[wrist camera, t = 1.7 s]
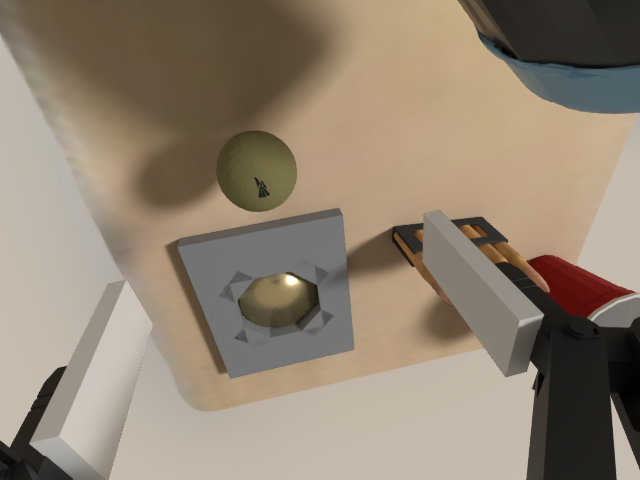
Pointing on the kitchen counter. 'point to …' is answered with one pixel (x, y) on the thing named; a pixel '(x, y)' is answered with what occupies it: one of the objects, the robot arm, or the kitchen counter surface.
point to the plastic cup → (587, 293)
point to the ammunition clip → (478, 234)
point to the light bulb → (256, 171)
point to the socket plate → (273, 290)
